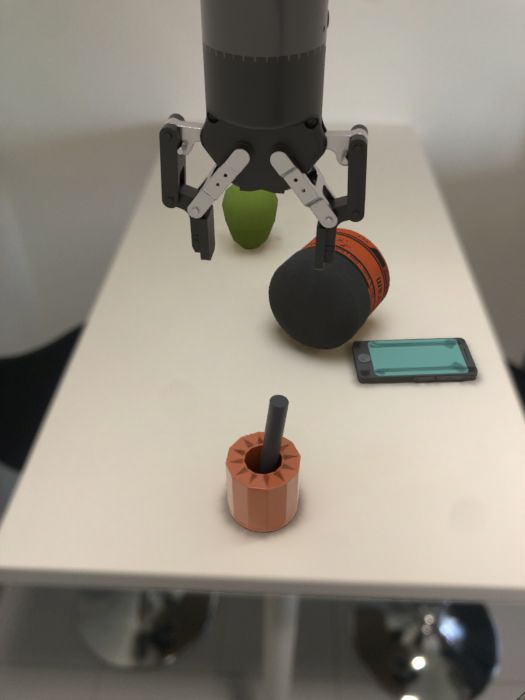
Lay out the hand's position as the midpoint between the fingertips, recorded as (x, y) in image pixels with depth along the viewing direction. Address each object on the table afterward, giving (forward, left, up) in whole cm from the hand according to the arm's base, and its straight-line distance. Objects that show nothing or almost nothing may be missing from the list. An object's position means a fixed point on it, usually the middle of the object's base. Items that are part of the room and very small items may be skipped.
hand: (263, 259), depth 51 cm
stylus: (0, 0, -30) cm, 30 cm away
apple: (+50, +9, -30) cm, 59 cm away
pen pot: (0, 0, -30) cm, 30 cm away
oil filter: (+30, -4, -30) cm, 42 cm away
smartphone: (+24, -16, -30) cm, 42 cm away
